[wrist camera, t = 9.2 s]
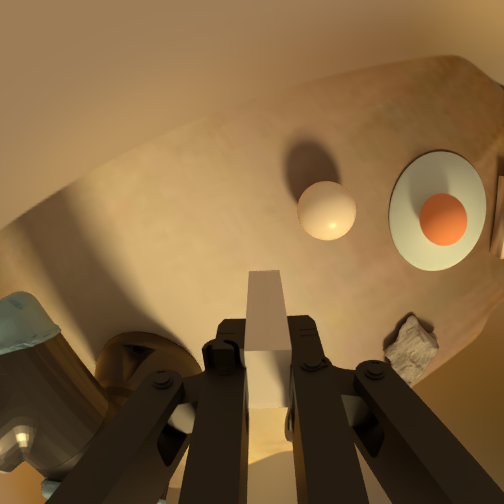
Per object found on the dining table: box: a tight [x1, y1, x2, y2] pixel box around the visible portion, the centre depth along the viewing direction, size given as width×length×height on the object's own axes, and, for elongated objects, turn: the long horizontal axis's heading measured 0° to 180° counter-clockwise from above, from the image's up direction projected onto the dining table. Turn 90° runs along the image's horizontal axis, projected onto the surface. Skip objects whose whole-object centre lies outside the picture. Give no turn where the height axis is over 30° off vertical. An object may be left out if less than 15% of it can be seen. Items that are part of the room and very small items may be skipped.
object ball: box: [419, 193, 467, 246], centre depth 29 cm, size 6×6×6 cm
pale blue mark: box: [389, 151, 486, 271], centre depth 31 cm, size 14×14×1 cm
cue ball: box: [297, 181, 356, 240], centre depth 29 cm, size 6×6×6 cm
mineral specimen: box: [384, 315, 439, 388], centre depth 36 cm, size 6×12×4 cm, turn 157°
